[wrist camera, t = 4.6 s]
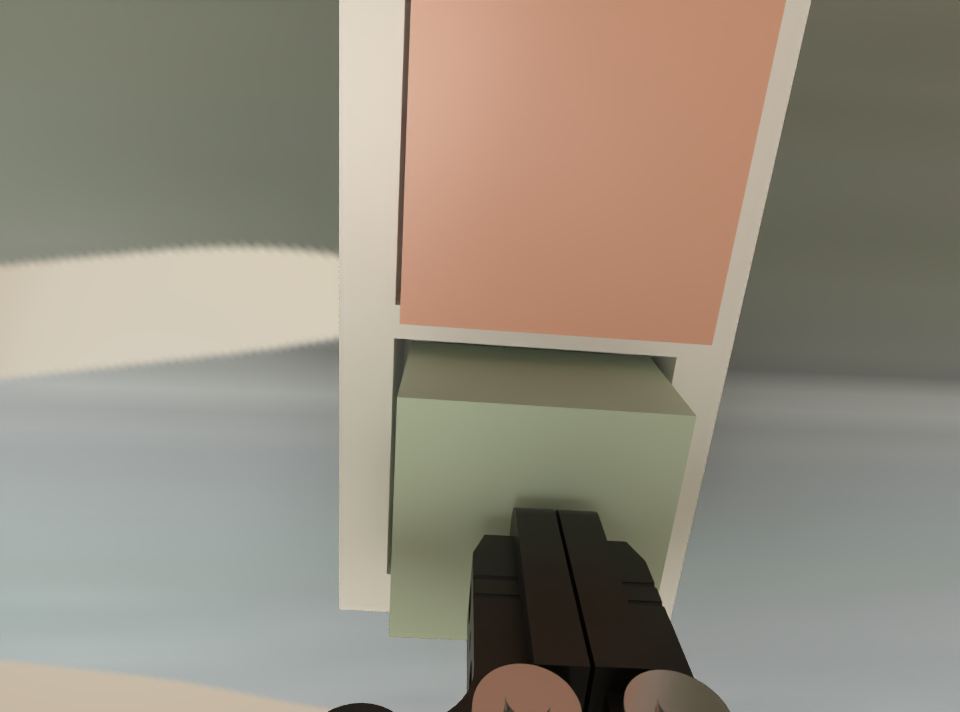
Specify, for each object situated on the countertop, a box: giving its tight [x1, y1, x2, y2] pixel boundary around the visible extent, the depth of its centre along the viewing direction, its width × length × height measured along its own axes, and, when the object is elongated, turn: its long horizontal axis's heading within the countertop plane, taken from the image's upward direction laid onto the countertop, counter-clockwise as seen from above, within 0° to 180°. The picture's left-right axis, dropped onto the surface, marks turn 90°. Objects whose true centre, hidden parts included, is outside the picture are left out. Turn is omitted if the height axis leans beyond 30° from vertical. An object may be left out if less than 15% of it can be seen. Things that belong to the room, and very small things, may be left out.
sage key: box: [389, 341, 697, 640], centre depth 13 cm, size 5×5×3 cm
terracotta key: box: [400, 0, 786, 345], centre depth 11 cm, size 5×5×3 cm
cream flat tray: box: [339, 0, 811, 620], centre depth 13 cm, size 21×8×4 cm, turn 176°
